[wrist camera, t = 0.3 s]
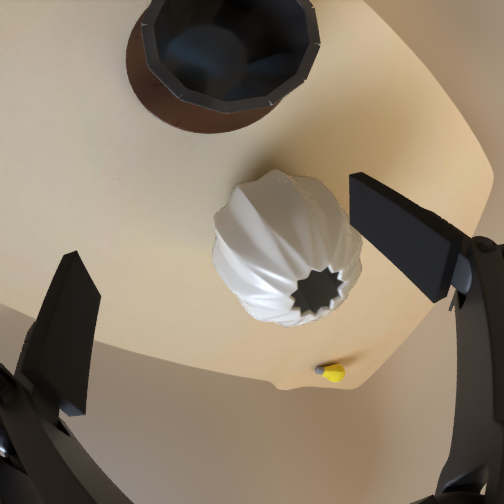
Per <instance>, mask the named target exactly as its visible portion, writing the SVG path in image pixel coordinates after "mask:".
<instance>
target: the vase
mask: <svg viewBox="0 0 504 504" xmlns="http://www.w3.org/2000/svg"><path fill="white" fill-rule="evenodd" d="M213 223H214V228H215V232H216V239H215V242H214V245H213V248H212V260H213V264H214V266H215V268H216V270H217V272H218V274H219V275H220V277H221V278H222V280H223V281H224V283H225V284H226V285H227V286H228V287H229V288H230V290H231V291H232V292H233V293H235V295H236V296H237V298H238V300H239V302H240V303H241V304H242V306H243V307H244V309H245V310H246V311H247V312H248V313H249V314H250V315H251V316H252V317H254V318H256V319H258V320H259V321H268V322H276V323H278V324H279V325H281V326H283V327H293V326H298V325H302V324H305V323H308V322H311V321H318V320H319V319H321V318H324V317H326V316H327V315H329V314H330V313H331V312H332V311H333V310H335V309H336V308H338V307H339V306H340V305H341V304H342V303H343V302H344V301H345V300H346V299H347V297H348V294H349V292H350V291H351V289H352V288H353V287H354V285H355V283H356V282H357V280H358V278H359V276H360V274H361V272H362V264H361V260H360V253H361V249H362V245H363V241H362V237H361V234H360V233H359V232H358V231H357V230H356V229H355V228H353V227H352V226H351V225H350V215H349V214H348V213H347V212H346V211H345V210H344V209H343V208H342V207H341V206H340V204H339V203H338V201H337V200H336V198H335V197H334V195H333V194H332V193H331V192H330V190H329V189H328V188H327V187H326V186H325V185H324V184H323V183H322V182H321V181H319V180H318V179H316V178H314V177H309V176H294V177H291V176H289V175H287V174H286V173H284V172H282V171H279V170H276V169H273V170H271V171H269V172H268V173H266V174H265V175H264V176H262V177H261V178H260V179H258V180H256V181H249V182H243V183H238V184H237V185H236V186H235V188H234V190H233V192H232V195H231V197H230V200H229V202H228V203H227V204H226V205H225V206H224V207H223V208H221V209H220V210H219V211H218V212H217V213H216V214H215V215H214V216H213Z"/></svg>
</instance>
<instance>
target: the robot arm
mask: <svg viewBox="0 0 504 504" xmlns="http://www.w3.org/2000/svg"><path fill="white" fill-rule="evenodd" d="M349 196H350V225H351V226H352V227H353V228H355V229H356V230H357V231H358V232H359V233H360V234H361V235H363V236H364V237H365V238H366V239H367V240H368V241H369V242H370V243H371V244H373V245H374V246H375V247H376V248H377V249H378V250H379V251H380V252H381V253H382V254H384V255H385V256H386V257H387V258H388V259H389V260H390V261H391V262H392V263H393V264H394V265H395V266H396V267H397V268H398V269H399V270H400V271H402V272H403V273H404V274H405V275H406V276H407V277H408V278H409V279H410V280H411V281H412V282H413V283H414V284H415V285H416V286H417V287H418V288H419V289H420V290H421V291H422V292H423V293H424V294H425V295H426V296H427V297H428V298H429V299H430V300H431V301H432V302H433V303H436V302H438V301H439V300H441V299H443V298H445V297H447V294H448V291H449V288H450V285H452V286H453V287H455V288H456V290H455V293H454V296H453V299H452V301H451V304H450V307H449V311H451V310H452V308H453V306H454V305H455V316H456V334H457V390H456V405H455V417H454V427H453V435H452V442H451V449H450V454H449V457H448V460H447V462H446V464H445V465H444V467H443V469H442V471H441V474H440V477H439V481H438V484H437V488H436V492H435V496H434V495H431V496H428V497H426V498H423V499H421V500H418V501H416V502H413V503H410V504H504V244H501V245H497V244H496V243H495V242H494V241H492V240H491V239H489V238H486V237H482V236H475V237H472V238H470V237H469V236H467V235H466V234H464V233H463V232H462V231H460V230H459V229H457V228H456V227H455V226H453V225H452V224H450V223H448V222H447V221H446V220H444V219H442V218H441V217H440V216H438V215H437V214H435V213H434V212H432V211H429V210H427V209H424V208H422V207H420V206H419V205H417V204H415V203H414V202H412V201H411V200H409V199H408V198H406V197H404V196H403V195H401V194H399V193H398V192H396V191H394V190H393V189H391V188H389V187H388V186H386V185H384V184H382V183H381V182H379V181H377V180H376V179H374V178H372V177H370V176H368V175H367V174H365V173H363V172H359V173H354V174H349ZM100 300H101V295H100V293H99V292H98V290H97V288H96V286H95V284H94V283H93V281H92V279H91V277H90V275H89V273H88V272H87V270H86V268H85V266H84V264H83V262H82V260H81V258H80V256H79V254H78V252H77V251H74V252H71V253H68V254H65V255H63V257H62V260H61V262H60V264H59V266H58V268H57V270H56V273H55V275H54V277H53V279H52V282H51V284H50V286H49V289H48V291H47V294H46V296H45V299H44V301H43V304H42V306H41V309H40V312H39V314H38V317H37V320H36V322H34V323H33V325H32V326H31V328H30V329H29V330H28V332H27V335H26V338H25V341H24V343H25V344H23V347H22V352H21V353H20V357H19V360H18V363H17V367H16V370H15V374H14V376H13V375H12V374H11V373H10V372H9V371H8V370H7V369H6V368H5V366H4V365H3V364H2V363H0V449H1V450H2V451H4V454H5V457H2V456H1V455H0V504H134V503H133V502H132V501H131V500H130V499H129V498H128V497H126V496H125V494H124V493H122V491H121V490H120V489H119V488H118V487H117V486H116V485H115V484H114V483H113V482H112V481H111V480H110V479H109V478H108V476H107V475H106V474H105V473H104V472H103V471H102V470H101V469H100V468H99V466H98V465H97V464H96V463H95V462H94V460H93V459H92V458H91V457H90V455H89V454H88V453H87V452H86V451H85V449H84V448H83V447H82V445H81V444H80V443H79V441H78V440H77V439H76V437H75V436H74V435H73V433H72V432H71V431H70V429H69V428H68V426H67V425H66V423H65V422H64V421H63V420H62V419H61V418H59V409H61V410H62V411H63V412H64V413H66V414H67V415H68V416H69V417H70V416H80V415H85V414H86V399H87V388H88V378H89V369H90V360H91V353H92V346H93V339H94V333H95V327H96V321H97V315H98V310H99V305H100ZM486 483H487V486H486V491H485V495H481V494H480V492H481V489H482V488H483V486H484V485H485V484H486Z"/></svg>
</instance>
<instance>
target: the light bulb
mask: <svg viewBox="0 0 504 504" xmlns="http://www.w3.org/2000/svg"><path fill="white" fill-rule="evenodd" d="M315 372H316V374H322V376H324V377H326V378H327V379H328V380H330V381H331V382H339V381H341V380H342V379H343V378H344V376H345V369H344V368H343V366H341V365H340V364H334V365H330V366H325V367H317V368H315Z"/></svg>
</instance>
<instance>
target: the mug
mask: <svg viewBox="0 0 504 504" xmlns="http://www.w3.org/2000/svg"><path fill="white" fill-rule="evenodd" d="M311 7H313V5H312V4H311V2H310V1H309V0H152V2H151V4H150V5H149V7H148V9H147V12H146V14H145V16H144V18H143V20H142V22H141V25H142V26H141V34H142V40H143V46H144V52H145V58H146V63H147V66H148V67H149V70H150V71H151V72H152V74H153V75H154V76H155V77H156V79H157V80H158V81H159V82H160V83H161V84H162V85H163V86H164V87H165V88H166V89H167V90H168V91H169V92H170V93H171V94H172V95H173V97H174V98H175V99H176V100H178V99H179V101H180V102H184V103H187V104H191V105H194V106H198V107H201V108H204V109H208V110H211V111H215V112H219V113H227V114H229V113H234V112H240V111H246V110H252V109H259V108H266V107H270V105H274V104H276V103H277V102H278V101H279V100H281V99H282V98H283V97H285V96H286V95H288V94H289V93H290V92H292V91H293V90H294V89H296V88H297V87H298V86H300V85H301V84H303V83H304V80H306V79H307V77H308V75H309V72H310V70H311V67H312V65H313V63H314V60H315V58H316V55H317V53H318V51H319V48H320V46H319V44H321V43H320V36H319V30H318V24H317V19H316V13H315V9H314V8H311Z"/></svg>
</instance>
